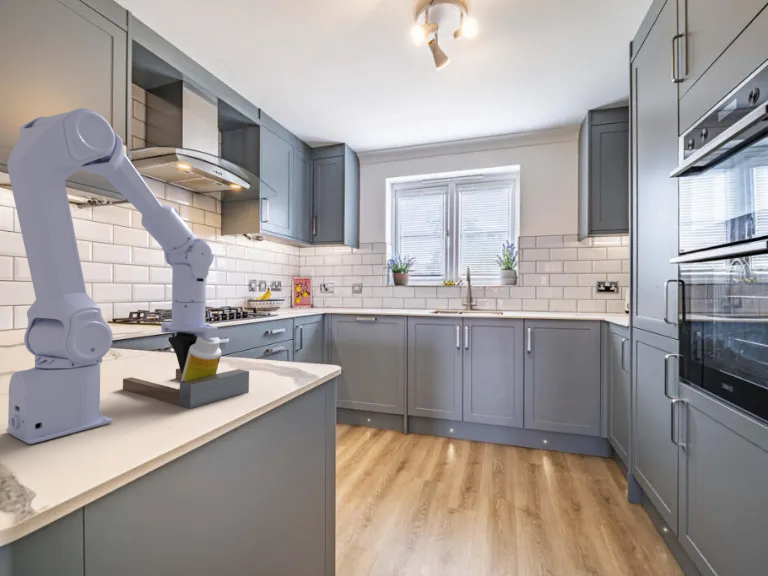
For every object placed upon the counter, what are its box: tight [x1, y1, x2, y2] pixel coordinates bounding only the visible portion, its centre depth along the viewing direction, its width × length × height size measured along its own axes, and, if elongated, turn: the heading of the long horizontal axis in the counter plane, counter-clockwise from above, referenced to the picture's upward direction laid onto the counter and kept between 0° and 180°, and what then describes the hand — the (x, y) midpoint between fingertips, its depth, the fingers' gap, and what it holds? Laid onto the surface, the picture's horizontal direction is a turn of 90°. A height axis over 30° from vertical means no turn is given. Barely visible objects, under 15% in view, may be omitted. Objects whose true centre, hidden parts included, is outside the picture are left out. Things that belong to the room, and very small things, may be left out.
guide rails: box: [122, 367, 182, 406], centre depth 74 cm, size 12×18×2 cm, turn 60°
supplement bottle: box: [180, 335, 222, 382], centre depth 71 cm, size 6×6×10 cm
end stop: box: [178, 368, 250, 409], centre depth 69 cm, size 12×3×4 cm, turn 150°
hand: (187, 372), depth 74 cm, fingers closed
